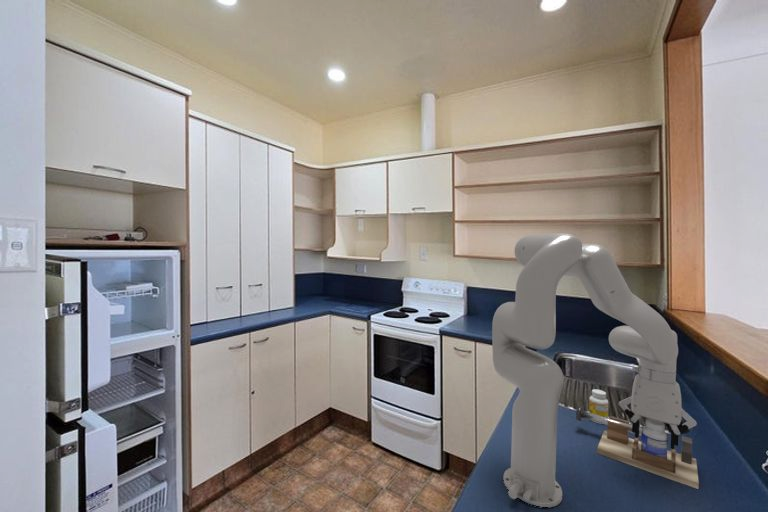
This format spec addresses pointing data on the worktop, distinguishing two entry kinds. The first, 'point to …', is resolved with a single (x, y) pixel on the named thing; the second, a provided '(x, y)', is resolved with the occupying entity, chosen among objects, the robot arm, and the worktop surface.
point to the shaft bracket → (649, 455)
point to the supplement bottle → (598, 403)
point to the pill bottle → (654, 438)
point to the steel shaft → (599, 419)
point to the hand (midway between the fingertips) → (654, 440)
